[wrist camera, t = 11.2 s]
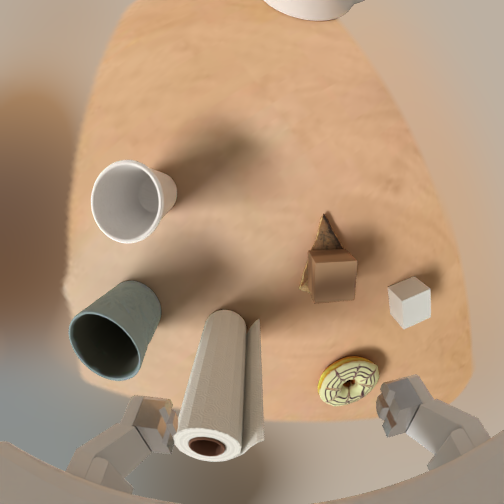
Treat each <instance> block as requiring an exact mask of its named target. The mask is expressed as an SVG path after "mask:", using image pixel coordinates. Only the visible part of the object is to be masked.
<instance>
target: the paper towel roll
mask: <svg viewBox="0 0 504 504" xmlns="http://www.w3.org/2000/svg"><path fill="white" fill-rule="evenodd" d="M263 440H264V417H263V389H262V362H261V337H260V319H258V320H256V321H255V322H254V323H253V324H252V325H251V327H250V329H249V331H248V333H247V334H246V324H245V321H244V319H243V318H242V317H241V316H240V315H239V314H237V313H235V312H233V311H230V310H220V311H216V312H214V313H213V314H211V315H210V316H209V317H208V319H207V320H206V323H205V326H204V329H203V333H202V336H201V340H200V343H199V346H198V350H197V353H196V357H195V360H194V364H193V367H192V371H191V374H190V378H189V381H188V385H187V389H186V392H185V396H184V399H183V403H182V407H181V410H180V414H179V418H178V429H177V433H176V434H175V435H174V441H175V442H174V444H175V445H176V446H177V448H178V449H179V450H180V451H182V452H184V453H185V454H187V455H188V456H191V457H194V458H196V459H199V460H205V461H212V462H214V461H226V460H229V459H232V458H235V457H237V456H239V455H242V454H244V453H245V452H246V451H247V450H248V449H249V448H250V447H251V446H253V445H255V444H256V443H258V442H261V441H263Z"/></svg>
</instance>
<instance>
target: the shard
mask: <svg viewBox="0 0 504 504" xmlns="http://www.w3.org/2000/svg"><path fill="white" fill-rule="evenodd" d="M332 249H344V248H343V246H342V244H341V242H340V241H339V239H338V237H337V235H336V234H335V232H334V231H333V230H332V228H331V226H330V224H329V221H328V219H327V218H326V216H325V214H323V216H322V217H321V221H320V224H319V230H318V233H317V237H316V240H315V243H314V245H313V247H312V249H311V250H332ZM356 276H357V275H356ZM299 289H300V290H302V291H306V292H309V293H310V291H309V288H308V260H307V264H306V267H305V269H304V272H303V275H302V280H301V283H300V286H299ZM310 294H311V293H310Z"/></svg>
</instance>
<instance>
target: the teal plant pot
mask: <svg viewBox="0 0 504 504" xmlns="http://www.w3.org/2000/svg"><path fill="white" fill-rule="evenodd" d="M160 318H161V305H160V302H159V300H158V298H157V296H156V295H155V293H154V292H153V291H152V290H151V289H150V288H149V287H147V286H146V285H144V284H142V283H140V282H137V281H125V282H122V283H120V284H118V285H117V286H116V287H114V288H113V289H112V290H110V291H109V292H107V293H106V294H105V295H103V296H102V297H100V298H99V299H98V300H96V301H95V302H94V303H92V304H91V305H90V306H88V307H87V308H85V309H84V310H83V311H81V312H80V313H79V314H77V315H76V316H75V317H74V318H73V320H72V321H71V323H70V326H69V338H70V342H71V345H72V348H73V350H74V352H75V353H76V355H77V356H78V358H79V359H80V360H81V361H82V363H83V364H84V365H86V366H87V367H88V368H89V369H90V370H91V371H93V372H94V373H96V374H97V375H99V376H101V377H104V378H106V379H110V380H115V381H122V380H127V379H130V378H132V377H134V376H135V375H136V374H137V373H138V371H139V370H140V368H141V365H142V362H143V358H144V356H145V353H146V350H147V345H148V344H149V342H150V341H151V339H152V337H153V334H154V332H155V330H156V328H157V326H158V323H159V321H160Z"/></svg>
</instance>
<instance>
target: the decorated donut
mask: <svg viewBox="0 0 504 504" xmlns="http://www.w3.org/2000/svg"><path fill="white" fill-rule="evenodd" d="M378 379H379V371H378V366H377V365H375V364H374V363H373V362H371V361H370V360H368V359H366V358H362V357H357V356H350V357H345V358H342V359H340V360H337V361H336V362H334V363H333V364H331V365H330V366H328V367H327V368H326V369H325V370H324V372H323V374H322V375H321V377H320V380H319V384H318V393H319V395H320V398H321V399H322V400H323V401H324V402H325V403H327V404H330V405H333V406H341V405H347V404H350V403H353V402H355V401H358V400H360V399H361V398H363V397H364V396H366V395H367V394H368V393H369V392H370V391H371V390H372V389H373V388H374V387H375V385H376V384H377V382H378ZM348 380H351V381H350V382H348V383H345V382H346V381H348Z"/></svg>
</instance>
